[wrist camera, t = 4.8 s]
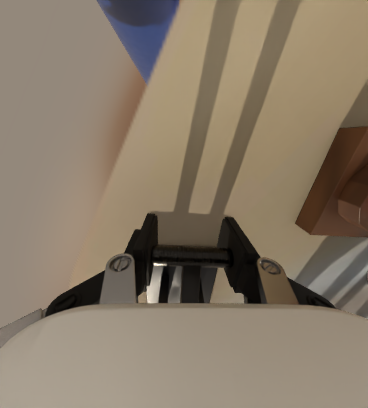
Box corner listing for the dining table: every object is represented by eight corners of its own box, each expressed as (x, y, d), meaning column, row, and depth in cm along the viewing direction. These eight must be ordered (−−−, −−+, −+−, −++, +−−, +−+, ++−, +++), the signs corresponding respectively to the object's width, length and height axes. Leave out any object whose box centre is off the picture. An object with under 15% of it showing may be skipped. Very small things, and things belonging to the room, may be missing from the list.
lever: (155, 239, 10) (148, 254, 8) (224, 241, 10) (239, 257, 8) (148, 409, 11) (140, 467, 9) (209, 407, 12) (218, 463, 9)
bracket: (146, 244, 17) (81, 456, 6) (218, 247, 18) (290, 445, 6) (148, 305, 22) (116, 484, 11) (205, 305, 23) (232, 477, 11)
